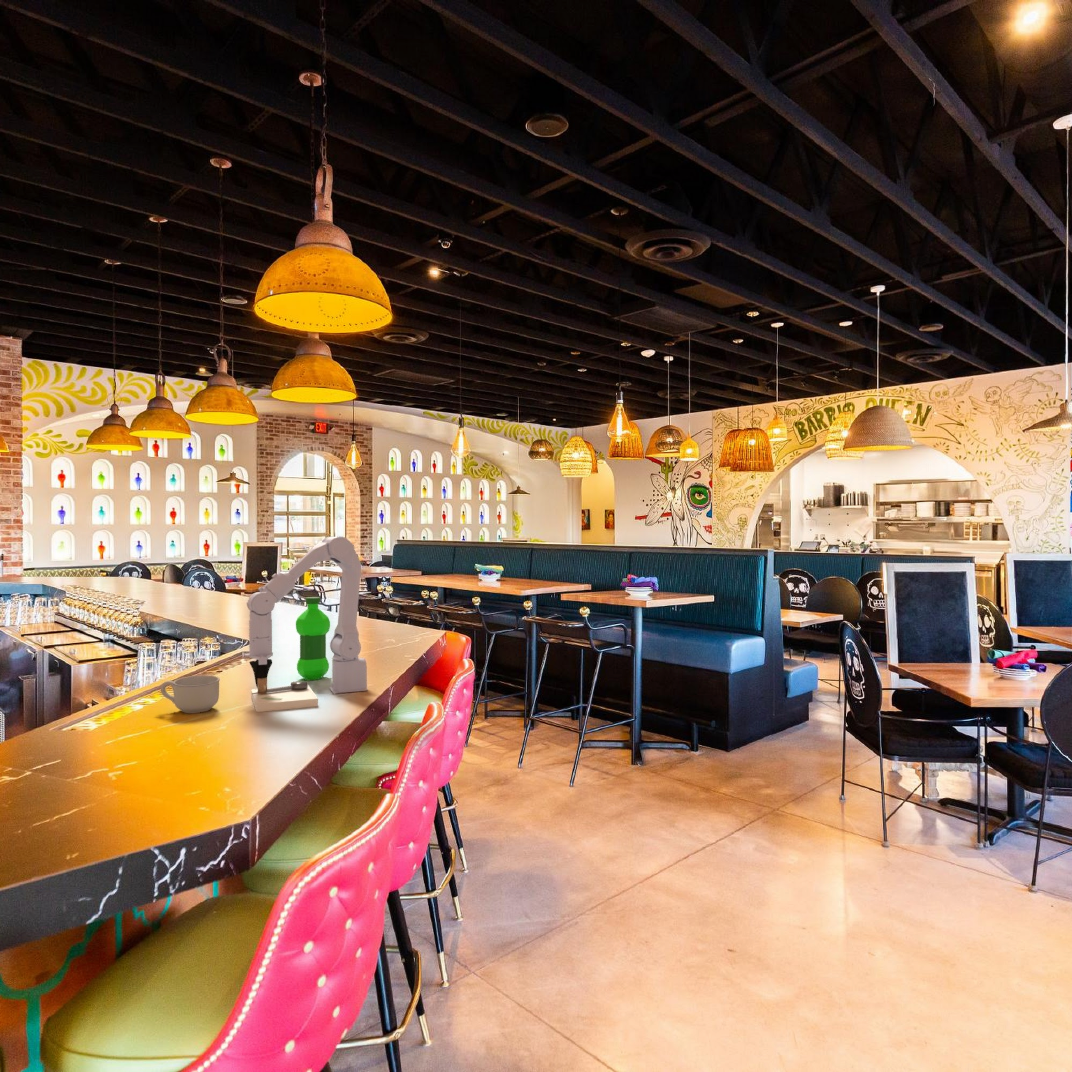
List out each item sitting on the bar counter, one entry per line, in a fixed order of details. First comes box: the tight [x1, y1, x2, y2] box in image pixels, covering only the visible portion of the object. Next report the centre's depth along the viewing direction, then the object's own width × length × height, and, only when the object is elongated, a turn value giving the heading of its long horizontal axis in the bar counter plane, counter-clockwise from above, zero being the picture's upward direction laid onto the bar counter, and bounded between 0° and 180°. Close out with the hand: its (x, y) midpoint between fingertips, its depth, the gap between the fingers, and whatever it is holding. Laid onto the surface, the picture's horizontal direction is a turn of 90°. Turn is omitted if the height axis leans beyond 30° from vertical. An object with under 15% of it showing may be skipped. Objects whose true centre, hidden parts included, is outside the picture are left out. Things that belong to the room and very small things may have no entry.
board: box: [250, 684, 319, 713], centre depth 195 cm, size 15×19×2 cm
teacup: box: [160, 674, 221, 714], centre depth 185 cm, size 14×11×8 cm
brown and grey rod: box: [252, 676, 309, 694], centre depth 198 cm, size 15×4×4 cm, turn 128°
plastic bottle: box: [295, 596, 331, 681], centre depth 227 cm, size 10×10×25 cm
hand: (260, 687), depth 197 cm, fingers closed
